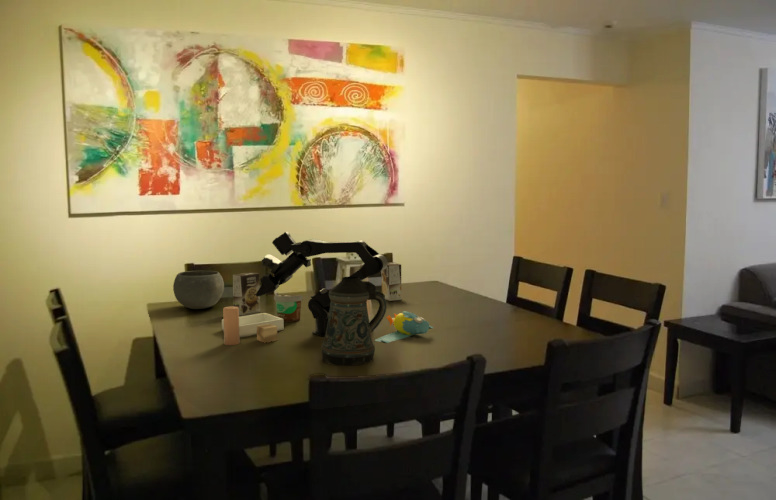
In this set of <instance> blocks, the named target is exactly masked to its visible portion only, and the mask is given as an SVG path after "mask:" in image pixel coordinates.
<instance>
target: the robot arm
mask: <svg viewBox="0 0 776 500" xmlns="http://www.w3.org/2000/svg"><path fill="white" fill-rule="evenodd" d="M271 243H272V244H273V246H274V247H275V249H276V250H277V251H278V253H280V254H281V256H284V255H285V256H286V258H285V259H283V260H280V258H277V257H275V256H274V255H272V254H270V253H267V254H266V255H264V257H263V258H262V259H261V265H262V266H264V267H266V268H268V269H270V272H271V273H272V274H271V273H266V274H264V275H263V276H262V277H261V278H259V282H260V283H261V285H260V288H259V290H258V291H257V293H256V296H257V297H259V296H260V297H261V296H264V295H268V294H271V293H275V291H276V290H277V289H278V288H279V287H280V285H283V284H285V283H287V282H288V281H290V280H291V279H292V278H293V275H294V274H295V273H296V272H297V271H298V270H299V269H300V268H302V267H303V266H304V267H305V268H309V267H311V265H312V264H311V260H312V259H311V258H310V257H314V256H319V255H323V254H338V253H339V254H345V253H348V254H350V253H351V254H353V253H355V254H356V255H357V256H358V257H359V258H360V260H361V261H362V262H363V265H362V266H361V267H360V268H359V269H358V270H356V271H355V272H354V273H352V274H351V275H349V276H348V277H359V278H360V280H361V281H365V279H367V278H371V277H372V276H374V275H377V274H379V273H381V271H383V270H384V269H386V268H387V265H388V263H389V262H388V259H387V257H386V256H385V255H383V254H380V253H379V252H378V251H377V250H375V249H374V248H373V247H371V246H370V245H368V243H367V242H366V241H364V240H361V239H360V240H357V241H356V240H355V241H351V240H350V241H349V240H348V241H325V240H320V239H316V238H315V239H314V238H312V239H307V240H303V241H300V242H296V240H295V239H294V238H293V237H292V236H291V234H290V233H289V231H284V232H283V233H282V234H281V235H279V236H278V237H275V238H274V239H273V240H272V242H271ZM330 290H331V289H329V290H327V288H322V289H321V290H319V291H317V292H316V293H315V294H312V296H310V299H309V300H308V302H307V304H308V305H307V307H308V310H309V311H310V312H311V315H312V317H313V319H315V330H312V334H315V335H318V336H321V337H325V334H326V330H327V324H328V318H329V310H330V304H331V300H330V298H329V291H330Z"/></svg>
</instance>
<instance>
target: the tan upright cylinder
mask: <svg viewBox="0 0 776 500" xmlns="http://www.w3.org/2000/svg"><path fill="white" fill-rule="evenodd" d="M222 309H223V310H222V312H223V313H222V314H223V315H222V316H223V319H224V331H223V339H224V340H223V344H224V345H226V346H236V345H237V346H238V345H239V344H241V343H240V342H241V341H240V338H241V337H240V336H239V317H240V315H239V307H235V306H224V307H223V308H222Z"/></svg>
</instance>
